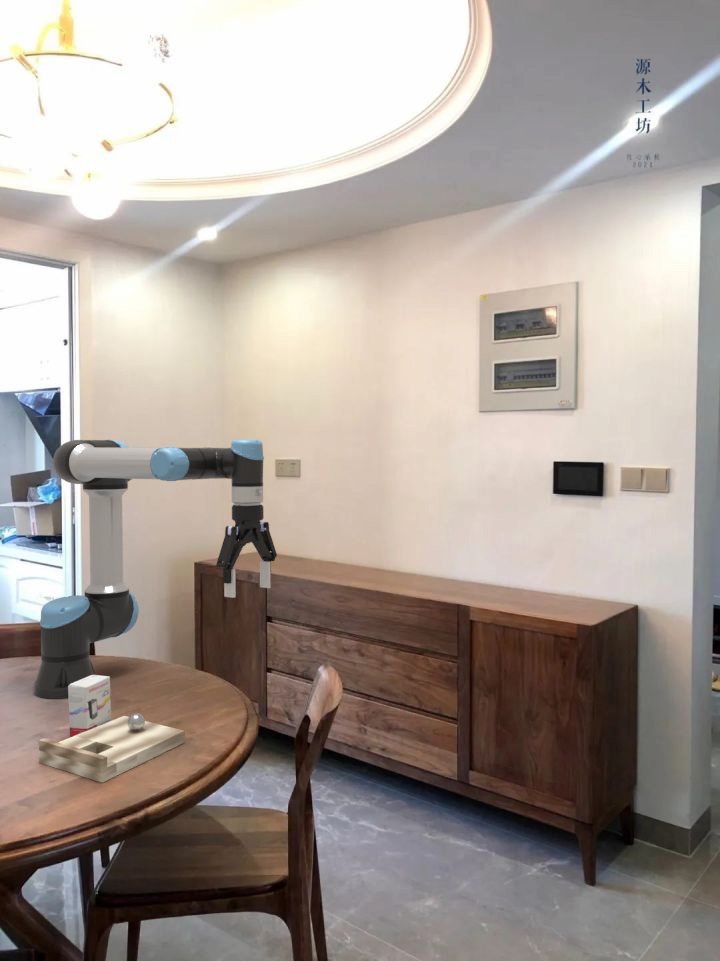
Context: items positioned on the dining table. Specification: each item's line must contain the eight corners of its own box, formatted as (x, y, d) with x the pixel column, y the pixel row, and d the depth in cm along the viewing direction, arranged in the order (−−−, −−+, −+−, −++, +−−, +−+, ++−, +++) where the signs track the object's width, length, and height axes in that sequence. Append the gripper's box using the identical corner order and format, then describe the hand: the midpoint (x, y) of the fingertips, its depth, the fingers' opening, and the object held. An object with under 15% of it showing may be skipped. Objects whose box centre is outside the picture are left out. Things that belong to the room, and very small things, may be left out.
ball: (123, 731, 157) (123, 715, 157) (136, 726, 160) (136, 709, 160) (135, 735, 155) (135, 718, 155) (148, 729, 158) (148, 712, 158)
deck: (39, 762, 147) (38, 740, 147) (124, 726, 166) (124, 706, 166) (102, 782, 138) (102, 758, 138) (184, 742, 158) (184, 721, 157)
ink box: (87, 742, 158) (86, 687, 157) (67, 739, 159) (66, 685, 159) (112, 727, 166) (112, 675, 165) (93, 725, 167) (92, 673, 167)
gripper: (226, 508, 165) (226, 602, 166) (290, 501, 187) (290, 585, 187) (200, 506, 168) (201, 599, 169) (266, 500, 190) (266, 582, 191)
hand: (248, 592), depth 178 cm, fingers open, 13 cm apart
